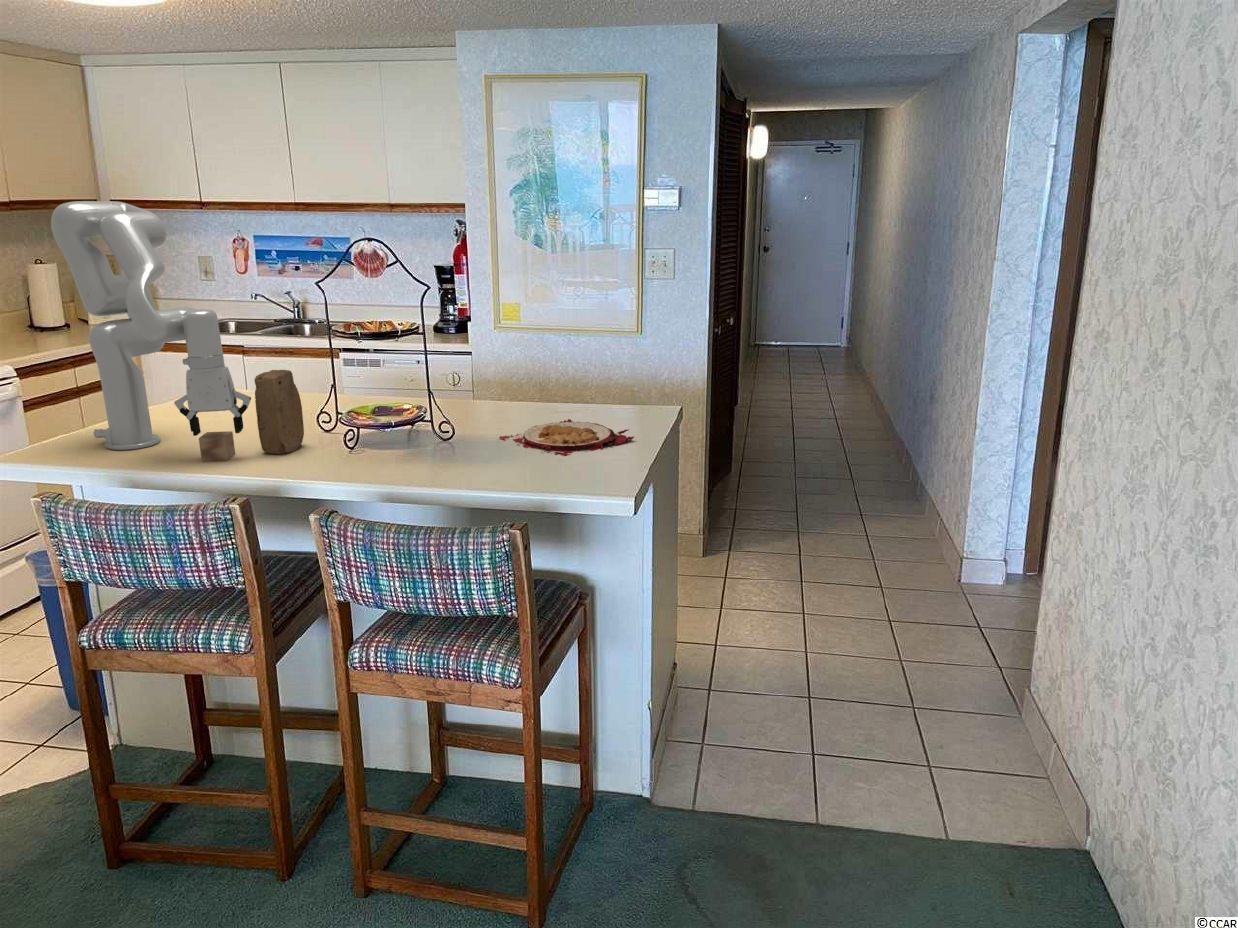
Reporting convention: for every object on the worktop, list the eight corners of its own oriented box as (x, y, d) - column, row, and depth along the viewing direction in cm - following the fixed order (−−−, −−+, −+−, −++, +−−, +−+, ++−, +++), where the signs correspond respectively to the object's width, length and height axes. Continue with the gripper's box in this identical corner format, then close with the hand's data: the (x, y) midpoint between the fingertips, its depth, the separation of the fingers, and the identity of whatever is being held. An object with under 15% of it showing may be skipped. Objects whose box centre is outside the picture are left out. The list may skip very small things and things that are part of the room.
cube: (202, 462, 212) (198, 438, 211) (210, 455, 218) (206, 432, 216) (228, 461, 213) (224, 437, 211) (235, 454, 219) (232, 431, 217)
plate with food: (569, 426, 249) (569, 413, 248) (634, 441, 231) (634, 428, 230) (497, 443, 234) (497, 429, 233) (561, 461, 215) (560, 447, 214)
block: (283, 456, 217) (274, 376, 211) (257, 454, 219) (247, 374, 213) (310, 445, 227) (302, 368, 221) (285, 443, 229) (276, 366, 223)
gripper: (162, 367, 204) (174, 439, 209) (240, 363, 206) (250, 434, 211) (174, 362, 211) (186, 431, 216) (249, 358, 213) (259, 427, 218)
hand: (218, 433), depth 213 cm, fingers open, 9 cm apart
